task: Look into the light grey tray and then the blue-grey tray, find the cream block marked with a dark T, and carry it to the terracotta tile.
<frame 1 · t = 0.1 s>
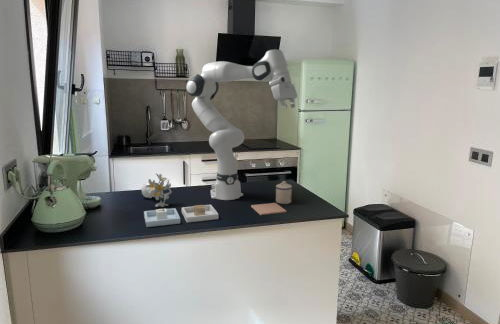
hand: (289, 108, 183), 52 cm above the countertop, tool tilted 20°, fingers open, 8 cm apart
letter cube: (161, 219, 174), point 1 cm above the countertop, touching blue grey tray
plain oak block: (199, 215, 179), point 1 cm above the countertop, touching grey tray
flower vase: (155, 202, 202), on the countertop
terracotta tile: (268, 209, 191), on the countertop
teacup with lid: (282, 201, 205), on the countertop
grey tray: (199, 216, 180), on the countertop
blue grey tray: (161, 220, 174), on the countertop
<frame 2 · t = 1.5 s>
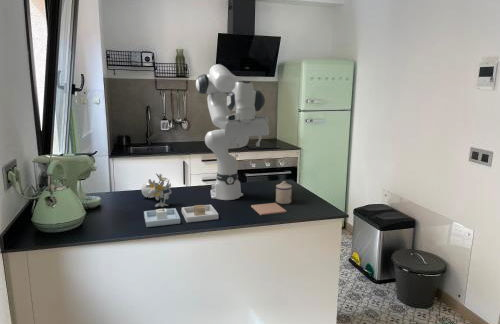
hand: (247, 146, 168), 35 cm above the countertop, tool pointing down, fingers open, 8 cm apart
nothing on the countertop moved.
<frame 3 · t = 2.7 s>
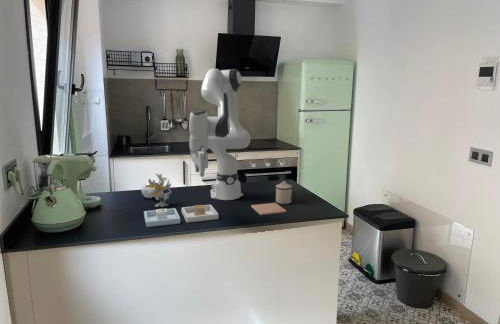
hand: (199, 174, 175), 21 cm above the countertop, tool pointing down, fingers open, 8 cm apart
nothing on the countertop moved.
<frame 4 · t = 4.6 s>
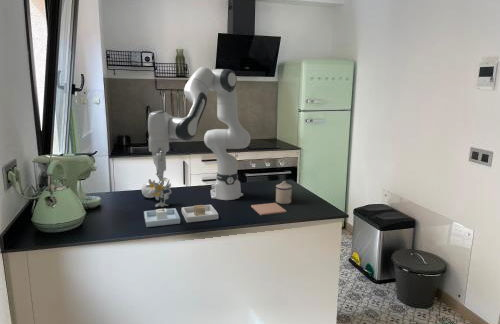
hand: (160, 176, 169), 21 cm above the countertop, tool pointing down, fingers open, 8 cm apart
nothing on the countertop moved.
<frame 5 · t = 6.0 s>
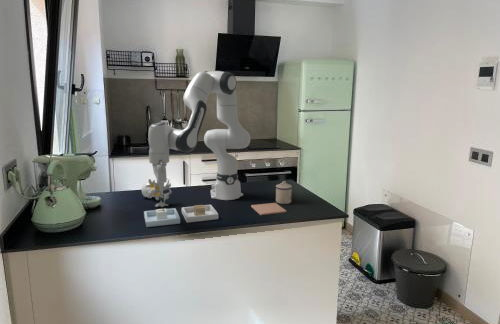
hand: (160, 188, 170), 16 cm above the countertop, tool pointing down, fingers open, 8 cm apart
nothing on the countertop moved.
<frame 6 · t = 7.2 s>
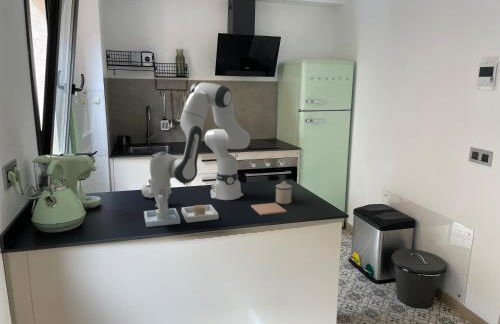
hand: (161, 215, 173), 3 cm above the countertop, tool pointing down, fingers open, 8 cm apart
nothing on the countertop moved.
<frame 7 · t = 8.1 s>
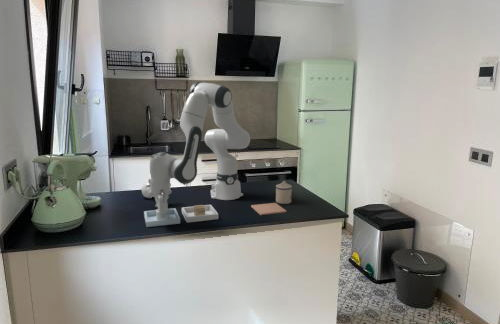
hand: (161, 215, 173), 2 cm above the countertop, tool pointing down, fingers closed on letter cube, 4 cm apart
letter cube: (161, 219, 174), point 1 cm above the countertop, touching blue grey tray, gripper
everything else where it was.
when the fingers open (4 cm above the countertop, at t = 16.7 s): letter cube drops 2 cm, resting on terracotta tile.
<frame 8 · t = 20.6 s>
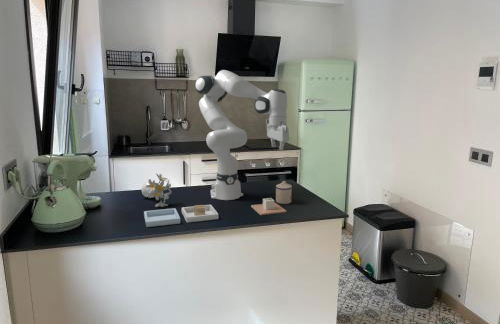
hand: (277, 148, 190), 31 cm above the countertop, tool pointing down, fingers open, 8 cm apart
letter cube: (268, 207, 191), point 1 cm above the countertop, touching terracotta tile
everything else where it was.
at the end: letter cube inside the target area on the terracotta tile (0.1 cm from its centre), point 0.8 cm above the terracotta tile's base; letter cube tilted 0°; the gripper is holding nothing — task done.
